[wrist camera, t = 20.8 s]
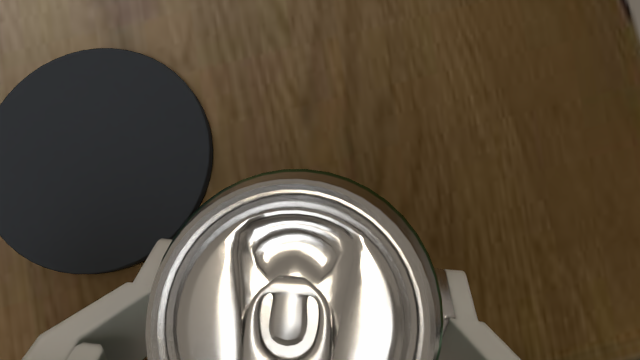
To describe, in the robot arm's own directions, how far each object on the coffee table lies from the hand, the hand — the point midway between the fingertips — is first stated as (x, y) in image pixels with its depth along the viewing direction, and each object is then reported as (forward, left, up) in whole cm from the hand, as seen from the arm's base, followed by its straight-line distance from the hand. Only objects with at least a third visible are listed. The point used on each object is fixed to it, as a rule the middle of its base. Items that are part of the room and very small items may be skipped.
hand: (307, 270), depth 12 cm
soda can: (0, +1, -7) cm, 7 cm away
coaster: (+9, -5, -7) cm, 13 cm away
